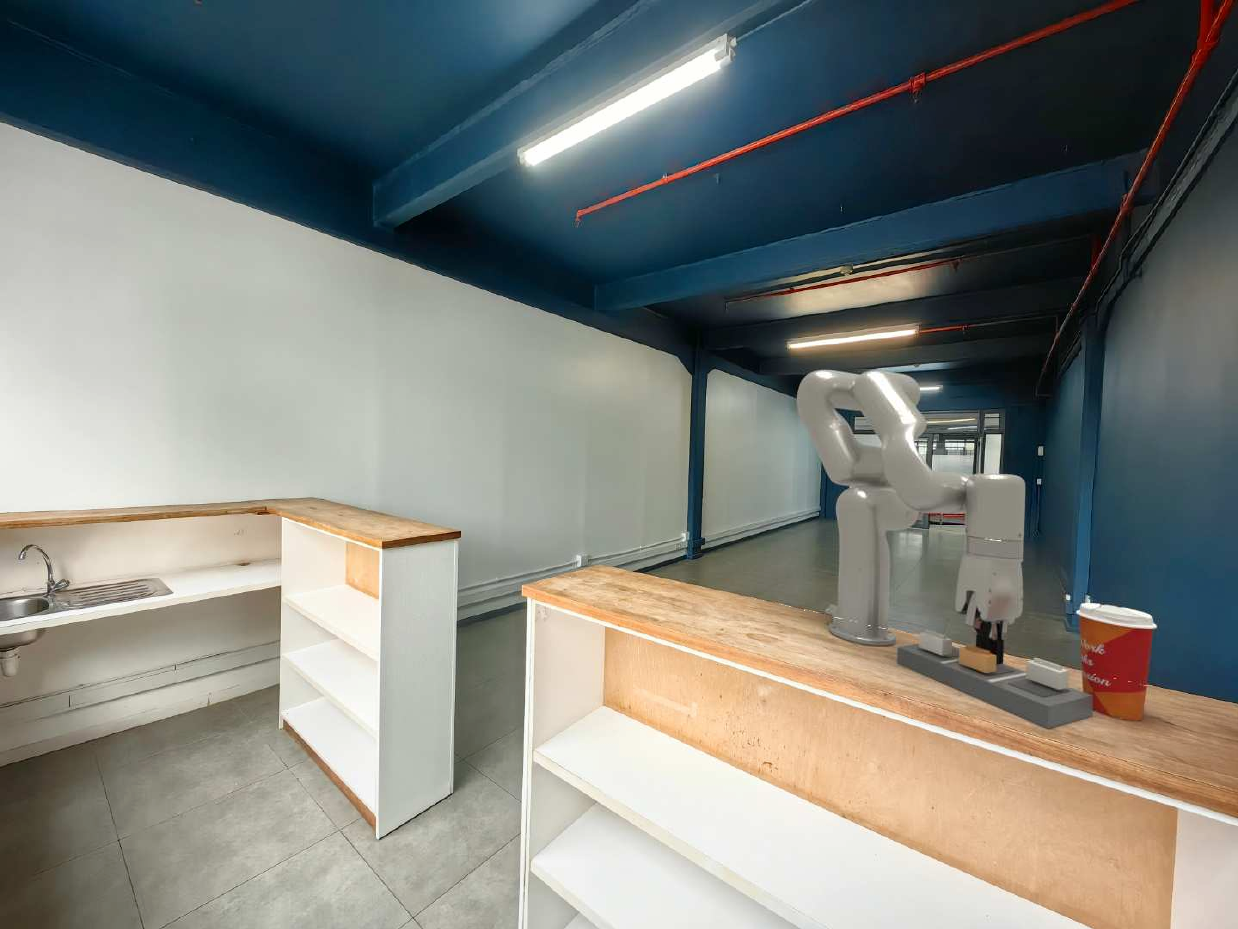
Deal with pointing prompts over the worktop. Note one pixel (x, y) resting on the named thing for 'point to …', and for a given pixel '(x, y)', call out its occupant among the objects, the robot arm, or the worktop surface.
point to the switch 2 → (977, 658)
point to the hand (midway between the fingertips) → (989, 661)
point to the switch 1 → (935, 642)
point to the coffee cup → (1115, 658)
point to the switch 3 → (1047, 673)
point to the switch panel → (1001, 687)
